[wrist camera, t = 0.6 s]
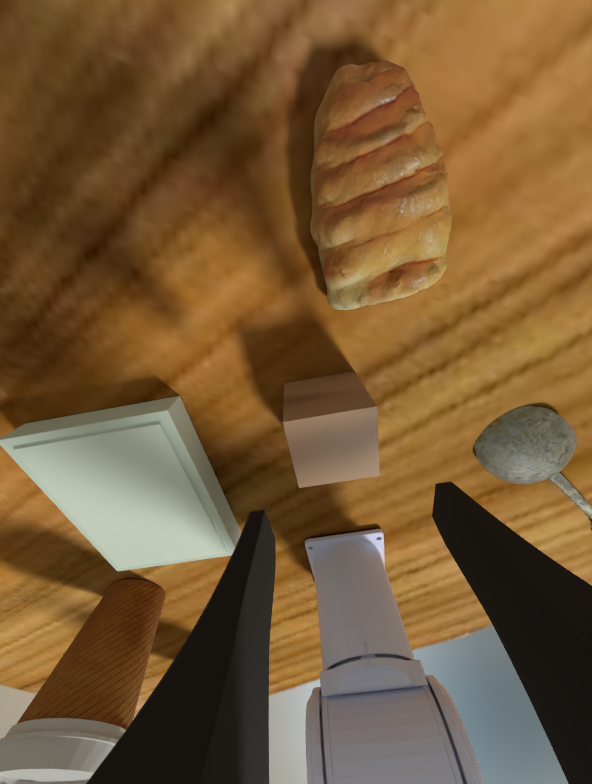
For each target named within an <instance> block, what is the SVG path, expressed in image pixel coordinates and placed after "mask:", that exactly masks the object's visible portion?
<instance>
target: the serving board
mask: <svg viewBox="0 0 592 784" xmlns="http://www.w3.org/2000/svg"><path fill="white" fill-rule="evenodd" d="M0 445H1V446H2V447H3V449H4V450H5V451H6V452H7V453H8V454H9V455H10V456H11V457H12V458H13V459H14V460H15V461H16V463H17V464H18V465H19V466H20V467H21V468H22V469H23V470H24V471H25V472H26V473H27V474H28V476H29V477H30V478H31V479H32V480H33V481H34V482H35V483H36V484H37V485H38V486H39V487H40V488H41V490H42V491H43V492H44V493H45V494H46V495H47V496H48V497H49V498H50V499H51V500H52V501H53V503H54V504H55V505H56V506H57V507H58V508H59V509H60V510H61V511H62V512H63V513H64V514H65V516H66V517H67V518H68V519H69V520H70V521H71V522H72V523H73V524H74V525H75V526H76V527H77V528H78V530H79V531H80V532H81V533H82V534H83V535H84V536H85V537H86V538H87V539H88V540H89V541H90V543H91V544H92V545H93V546H94V547H95V548H96V549H97V550H98V551H99V552H100V553H101V554H102V555H103V557H104V558H105V559H106V560H107V561H108V562H109V563H110V564H111V565H112V566H113V567H114V568H115V570H116V571H124V570H131V569H138V568H145V567H152V566H159V565H166V564H173V563H180V562H188V561H195V560H202V559H209V558H216V557H223V556H230V555H232V554H233V552H234V549H235V547H236V545H237V542H238V540H239V538H240V535H241V530H240V528H239V526H238V524H237V522H236V519H235V517H234V515H233V513H232V511H231V508H230V506H229V504H228V502H227V499H226V497H225V495H224V493H223V491H222V488H221V486H220V484H219V482H218V480H217V477H216V475H215V473H214V471H213V468H212V466H211V464H210V462H209V460H208V457H207V455H206V453H205V451H204V449H203V446H202V444H201V442H200V440H199V437H198V435H197V433H196V431H195V429H194V426H193V424H192V422H191V420H190V418H189V415H188V413H187V411H186V409H185V406H184V404H183V402H182V400H181V398H180V396H176V397H171V398H165V399H159V400H154V401H148V402H143V403H137V404H132V405H126V406H121V407H115V408H109V409H104V410H98V411H93V412H87V413H82V414H76V415H71V416H65V417H60V418H54V419H48V420H43V421H37V422H32V423H26V424H24V425H22V426H20V427H18V428H17V429H15V430H13V431H12V432H10V433H8V434H7V435H5V436H3V437H2V438H0Z"/></svg>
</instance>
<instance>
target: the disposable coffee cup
mask: <svg viewBox="0 0 592 784" xmlns="http://www.w3.org/2000/svg"><path fill="white" fill-rule="evenodd" d="M164 599H165V593H164V591H163V590H162V589H161V588H160V587H159V586H157V585H155V584H153V583H151V582H148V581H144V580H138V579H125V580H120V581H117V582H115V583H113V584H112V585H111V586H110V588H109V589H108V591H107V592H106V594H105V595H104V596H103V598H102V599H101V601H100V602H99V604H98V605H97V607H96V608H95V610H94V611H93V613H92V614H91V615H90V617H89V618H88V620H87V621H86V623H85V624H84V626H83V627H82V629H81V630H80V631H79V633H78V634H77V636H76V637H75V639H74V640H73V642H72V643H71V645H70V646H69V648H68V649H67V651H66V652H65V654H64V655H63V657H62V658H61V660H60V661H59V663H58V664H57V665H56V667H55V668H54V670H53V671H52V673H51V674H50V676H49V677H48V679H47V680H46V682H45V683H44V684H43V686H42V687H41V689H40V690H39V692H38V693H37V695H36V696H35V698H34V699H33V701H32V702H31V703H30V705H29V706H28V708H27V710H26V711H25V712H24V714H23V715H22V717H21V718H20V720H19V721H18V723H17V724H16V725H14V726H12V728H11V729H10V730H9V732H8V733H7V735H6V736H5V737H4V738H2V739H1V740H0V784H86V783H87V781H88V780H89V779H90V778H91V776H92V775H93V774H94V772H95V771H96V770H97V768H98V767H99V766H100V764H101V763H102V762H103V760H104V759H105V758H106V756H107V755H108V754H109V752H110V751H111V750H112V748H113V747H114V746H115V744H116V743H117V742H118V740H119V739H120V738H121V736H122V735H123V734H124V732H125V731H126V729H127V728H128V727H129V725H130V724H131V722H132V721H133V717H134V713H135V709H136V705H137V701H138V698H139V694H140V690H141V686H142V682H143V679H144V675H145V671H146V667H147V664H148V660H149V656H150V652H151V648H152V644H153V641H154V637H155V633H156V629H157V626H158V622H159V618H160V614H161V610H162V607H163V603H164Z"/></svg>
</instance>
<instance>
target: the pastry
mask: <svg viewBox="0 0 592 784" xmlns="http://www.w3.org/2000/svg"><path fill="white" fill-rule="evenodd" d="M311 194H312V218H311V223H310V230H311V235H312V238H313V240H314V241H315V243H316V244H317V246H318V252H319V258H320V261H321V264H322V270H323V274H324V279H325V282H326V287H327V300H328V303H329V304H330V306H331V307H333V308H335V309H338V310H349V309H355V308H358V307H360V306H365V305H372V304H377V303H380V302H384V301H391V300H394V299H398V298H403V297H407V296H410V295H412V294H414V293H416V292H418V291H419V290H421V289H425V288H428V287H429V286H431V285H433V284H434V283H435V282H437V281H438V280H439V279H440V278H441V276H442V274H443V273H444V271H445V269H446V267H447V266H446V262H445V253H446V248H447V244H448V240H449V233H450V230H451V222H452V213H451V209H450V203H449V199H448V174H447V172H446V170H445V166H444V161H443V152H442V149H441V148H440V146H439V145H438V144H437V142H436V135H435V132H434V128H433V125H432V124H431V123H430V122H429V121H428V120H427V117H426V113H425V112H424V110H423V107H422V104H421V101H420V97H419V93H418V92H417V91H416V90H415V87H414V84H413V82H412V81H411V79H410V77H409V75H408V74H407V71H406V70H405V69H404V68H403V67H400V66H398V65H396V64H394V63H391V62H389V61H373V62H367V63H364V64H360V65H355V64H346V65H344V66H342V67H340V68H339V69H338V70H337V71H336V73H335V75H334V76H333V78H332V80H331V82H330V85H329V87H328V89H327V91H326V93H325V96H324V98H323V101H322V102H321V104H320V106H319V108H318V111H317V113H316V116H315V122H314V157H313V164H312V169H311Z"/></svg>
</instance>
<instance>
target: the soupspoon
mask: <svg viewBox="0 0 592 784" xmlns="http://www.w3.org/2000/svg"><path fill="white" fill-rule="evenodd" d="M576 444H577V440H576V435H575V432H574V430H573V429H572V427H571V425H570V424H568V422H567V421H565V420H564V419H563V418H562V417H561V416H559V415H558V414H557V413H555V412H554V411H552V410H550V409H548V408H544V407H536V406H530V405H528V406H523V407H520V408H517V409H514V410H512V411H510V412H508V413H506V414H504V415H503V416H501V417H499V418H498V419H496V420H495V421H494V422H492V423H491V424H490V425H489V426H488V427H487V428H486V429H485V430H484V431H483V432H482V433H481V434H480V436H479V437H478V439H477V440H476V442H475V444H474V446H473V449H474V452H475V454H476V456H477V458H478V460H479V461H480V463H481V464H482V465H483V466H484V468H486V470H488V471H489V472H490V473H491V474H492V475H494V476H496V477H497V478H499V479H501V480H504V481H507V482H510V483H514V484H530V483H536V482H540V481H543V480H546V479H549V480H550V481H551V482H553V483H554V484H555V485H556V486H557V487H558V488H559V489H561V490H562V491H563V492H564V493H565V494H566V495H567V496H568V497H569V498H570V499H571V500H572V501H573V502H574V503H575V504H577V505H578V507H580V508H581V509H582V510H583V511H584V512H585V513H586V514H587V515H588V516H589V517H590V518H591V519H592V506H591V505H590V504H589V503H588V502H587V501H586V500H585V499H584V498H583V497H582V496H581V495H580V494H579V493H578V491H577V490H576V489H575V488H574V487H573V486H572V485H571V484H570V482H569V481H568V480H567V479H566V478H565V477H564V476H563V475H562V474H561V473H560V471H561V470H562V469H563V468H564V467H565V466H566V465H567V464H568V462H569V461H570V459H571V458H572V456H573V454H574V451H575V448H576Z"/></svg>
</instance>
